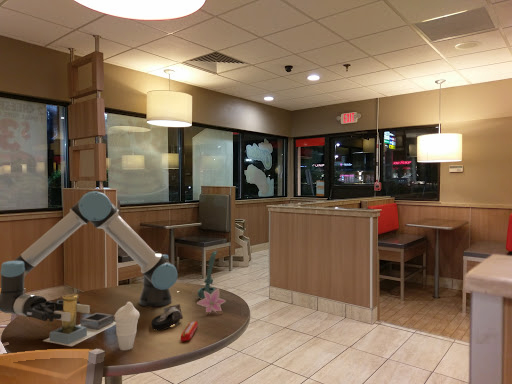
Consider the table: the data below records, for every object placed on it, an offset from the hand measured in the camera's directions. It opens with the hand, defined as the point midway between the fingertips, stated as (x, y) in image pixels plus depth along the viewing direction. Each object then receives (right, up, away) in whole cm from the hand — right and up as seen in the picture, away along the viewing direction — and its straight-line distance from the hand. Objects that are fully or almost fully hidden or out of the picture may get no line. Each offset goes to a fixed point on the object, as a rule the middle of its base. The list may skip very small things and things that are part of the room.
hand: (79, 313), depth 129 cm
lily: (+43, -12, +35) cm, 56 cm away
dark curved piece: (+38, -11, +54) cm, 67 cm away
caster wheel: (+27, -11, +17) cm, 34 cm away
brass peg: (-5, -9, +1) cm, 11 cm away
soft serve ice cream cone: (+18, -11, -3) cm, 21 cm away
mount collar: (0, -10, +15) cm, 18 cm away
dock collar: (-5, -9, +1) cm, 11 cm away
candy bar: (+37, -12, +10) cm, 40 cm away
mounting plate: (-2, -10, +8) cm, 13 cm away
